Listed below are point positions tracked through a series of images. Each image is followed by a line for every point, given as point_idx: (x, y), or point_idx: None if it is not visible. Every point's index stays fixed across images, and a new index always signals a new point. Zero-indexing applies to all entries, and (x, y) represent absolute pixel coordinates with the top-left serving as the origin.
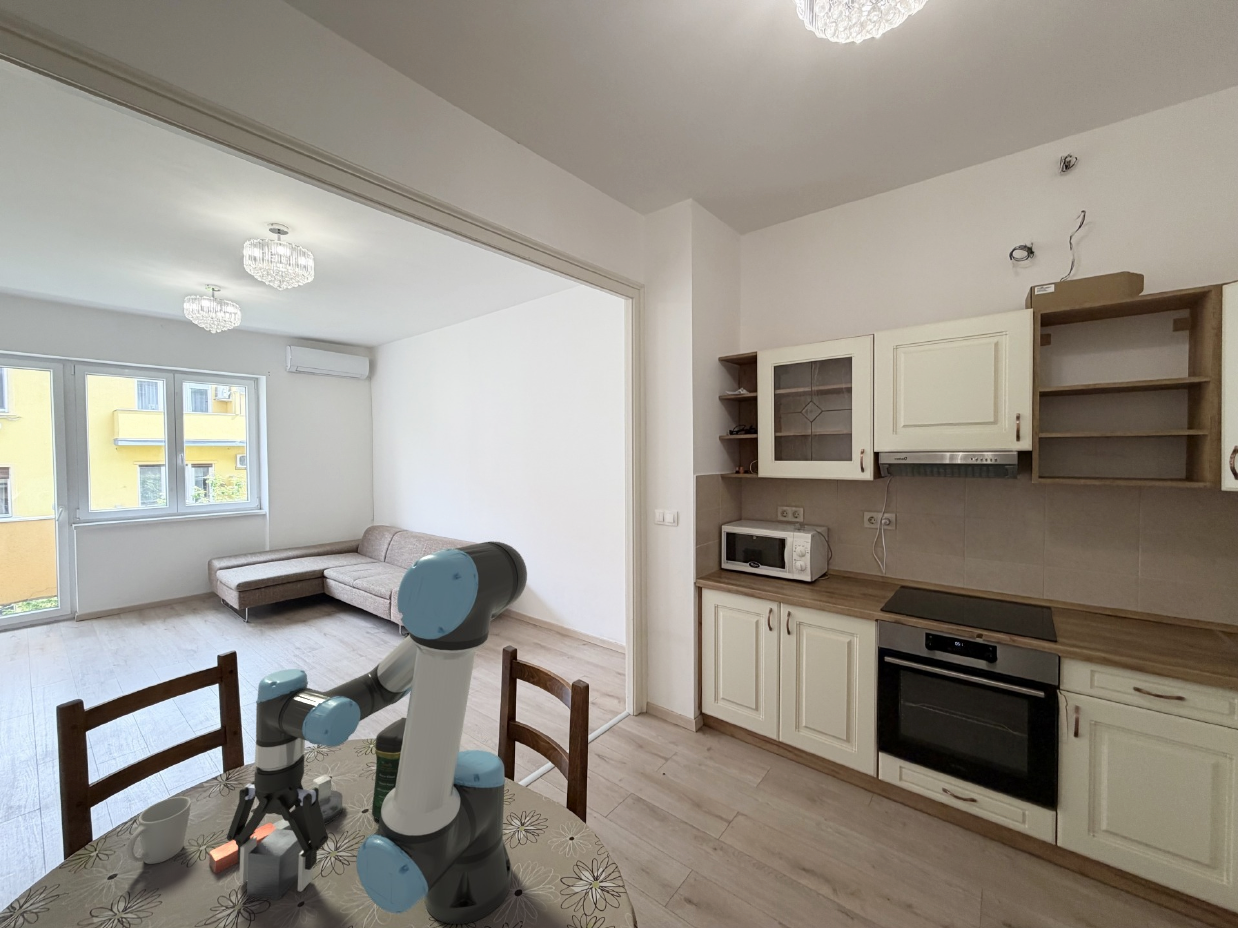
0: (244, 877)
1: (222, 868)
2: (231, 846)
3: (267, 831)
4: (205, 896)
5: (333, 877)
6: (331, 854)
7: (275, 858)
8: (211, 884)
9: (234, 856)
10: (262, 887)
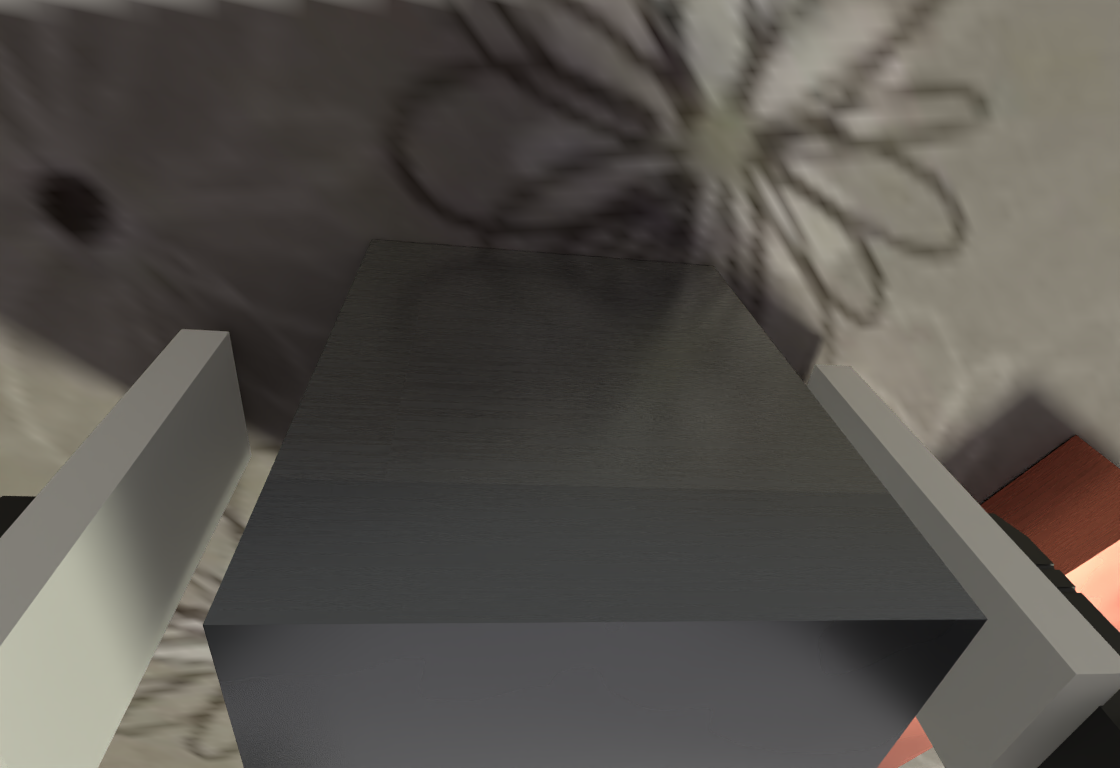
0: (830, 400)
1: (1041, 473)
2: None
3: None
4: (1079, 237)
5: None
6: None
7: (325, 577)
8: (1069, 349)
9: None
10: (561, 295)
